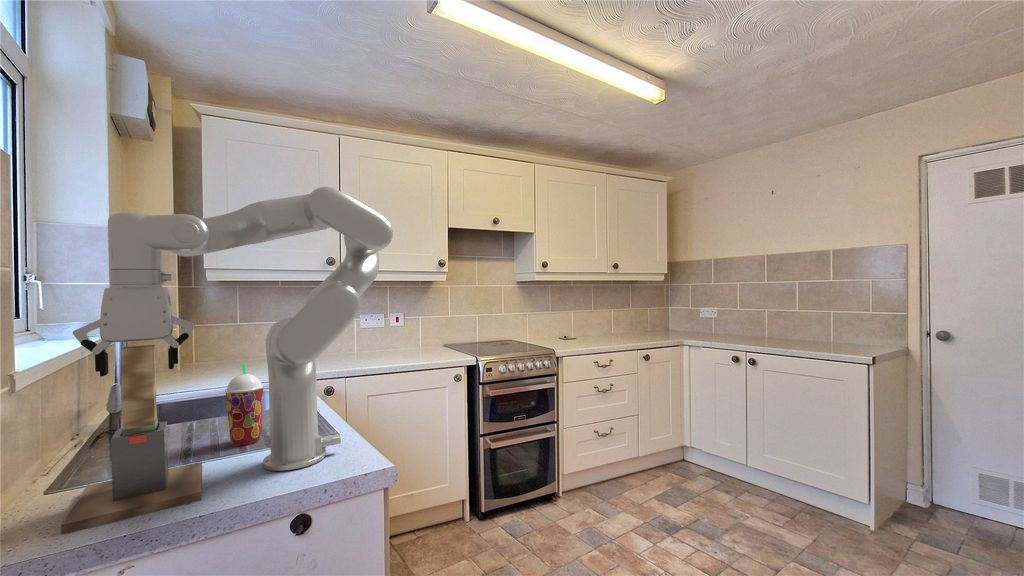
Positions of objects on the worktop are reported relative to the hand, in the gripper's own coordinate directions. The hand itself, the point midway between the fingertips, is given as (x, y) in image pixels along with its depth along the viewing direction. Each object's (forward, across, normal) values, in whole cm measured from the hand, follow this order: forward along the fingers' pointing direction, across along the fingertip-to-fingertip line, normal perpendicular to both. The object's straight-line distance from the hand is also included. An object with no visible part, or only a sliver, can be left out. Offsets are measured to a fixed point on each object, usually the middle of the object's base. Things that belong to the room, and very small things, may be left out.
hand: (139, 371), depth 82 cm
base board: (+23, 0, 0) cm, 23 cm away
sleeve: (+22, 0, 0) cm, 22 cm away
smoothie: (+24, -18, -23) cm, 37 cm away
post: (+13, 0, 0) cm, 13 cm away
